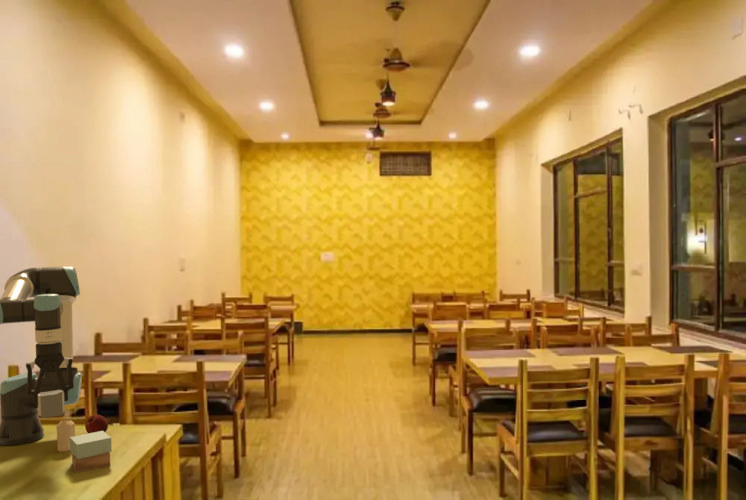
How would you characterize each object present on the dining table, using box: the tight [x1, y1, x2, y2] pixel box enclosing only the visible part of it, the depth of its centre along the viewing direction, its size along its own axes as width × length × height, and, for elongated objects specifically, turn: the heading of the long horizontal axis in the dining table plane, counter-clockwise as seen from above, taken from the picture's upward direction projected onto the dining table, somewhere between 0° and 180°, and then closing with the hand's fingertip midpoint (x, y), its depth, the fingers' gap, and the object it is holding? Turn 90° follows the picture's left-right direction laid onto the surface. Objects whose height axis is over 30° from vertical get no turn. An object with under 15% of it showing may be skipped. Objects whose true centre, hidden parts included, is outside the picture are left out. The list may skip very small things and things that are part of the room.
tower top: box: [69, 431, 113, 459], centre depth 196 cm, size 10×10×4 cm
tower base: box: [71, 452, 111, 473], centre depth 196 cm, size 10×10×4 cm
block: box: [40, 390, 64, 419], centre depth 199 cm, size 6×6×7 cm
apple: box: [84, 414, 109, 434], centre depth 226 cm, size 7×8×8 cm
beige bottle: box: [56, 418, 76, 453], centre depth 212 cm, size 6×6×10 cm
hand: (51, 413), depth 200 cm, fingers closed on block, 6 cm apart
